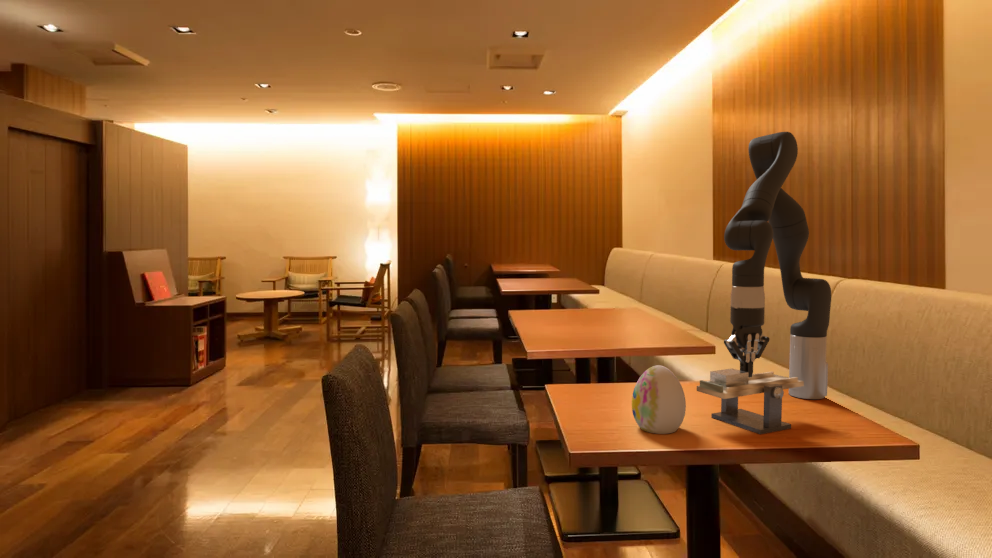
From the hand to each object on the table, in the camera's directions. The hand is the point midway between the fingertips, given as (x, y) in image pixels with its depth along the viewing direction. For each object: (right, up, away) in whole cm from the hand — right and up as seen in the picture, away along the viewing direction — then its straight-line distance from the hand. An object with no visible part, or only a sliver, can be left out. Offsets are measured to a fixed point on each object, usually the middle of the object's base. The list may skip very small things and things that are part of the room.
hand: (746, 376), depth 150 cm
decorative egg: (-22, -12, -3) cm, 25 cm away
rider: (-5, -2, -2) cm, 6 cm away
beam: (+1, -2, +1) cm, 3 cm away
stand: (+1, -11, +1) cm, 11 cm away
